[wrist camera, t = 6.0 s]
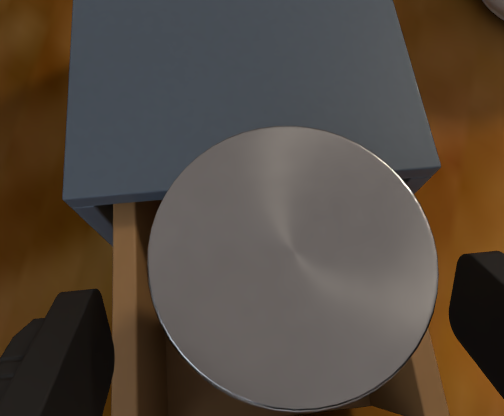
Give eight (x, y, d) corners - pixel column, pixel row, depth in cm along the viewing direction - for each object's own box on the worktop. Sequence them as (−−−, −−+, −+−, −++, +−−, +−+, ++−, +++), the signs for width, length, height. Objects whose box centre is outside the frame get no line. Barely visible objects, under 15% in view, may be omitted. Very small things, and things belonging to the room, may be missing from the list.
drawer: (416, 496, 17) (519, 573, 11) (138, 535, 17) (77, 640, 10) (350, 176, 23) (394, 101, 16) (134, 194, 22) (92, 124, 15)
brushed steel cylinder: (270, 410, 17) (328, 493, 6) (177, 328, 18) (81, 271, 7) (341, 310, 19) (491, 231, 8) (251, 240, 20) (268, 79, 9)
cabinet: (368, 238, 22) (442, 167, 14) (127, 262, 21) (61, 199, 13) (323, 23, 27) (358, -119, 19) (126, 36, 26) (78, -108, 18)
